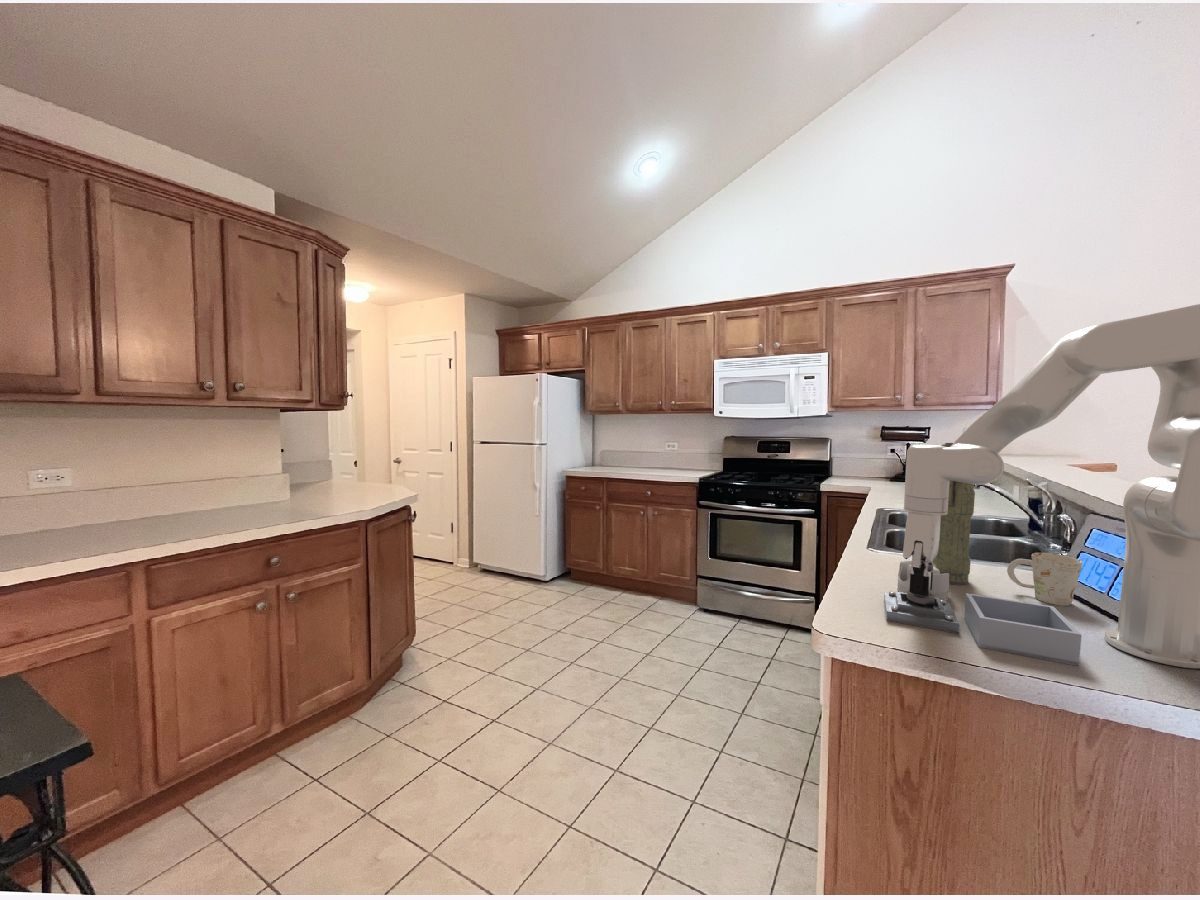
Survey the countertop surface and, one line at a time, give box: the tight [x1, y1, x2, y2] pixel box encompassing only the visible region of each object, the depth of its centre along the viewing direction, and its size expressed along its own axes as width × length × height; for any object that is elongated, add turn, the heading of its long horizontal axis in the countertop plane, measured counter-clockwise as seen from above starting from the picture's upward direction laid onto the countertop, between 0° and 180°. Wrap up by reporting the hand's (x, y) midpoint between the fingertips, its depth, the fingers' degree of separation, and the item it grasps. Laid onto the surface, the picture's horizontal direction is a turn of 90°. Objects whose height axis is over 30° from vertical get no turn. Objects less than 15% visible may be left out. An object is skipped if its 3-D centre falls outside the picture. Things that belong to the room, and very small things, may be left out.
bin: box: [963, 592, 1082, 667], centre depth 90 cm, size 14×14×6 cm
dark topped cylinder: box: [906, 562, 935, 608], centre depth 100 cm, size 5×5×9 cm
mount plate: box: [883, 590, 960, 634], centre depth 101 cm, size 12×12×3 cm
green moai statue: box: [933, 442, 976, 586], centre depth 123 cm, size 9×12×35 cm
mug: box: [1006, 552, 1083, 607], centre depth 111 cm, size 8×13×10 cm, turn 41°
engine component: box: [896, 560, 950, 602], centre depth 113 cm, size 11×20×10 cm
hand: (920, 590), depth 101 cm, fingers closed on dark topped cylinder, 3 cm apart
